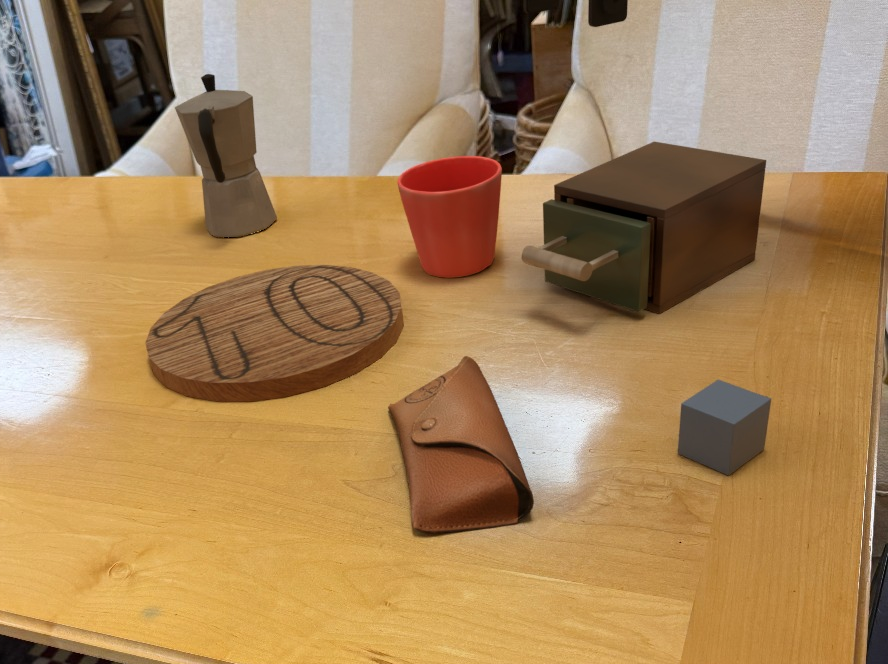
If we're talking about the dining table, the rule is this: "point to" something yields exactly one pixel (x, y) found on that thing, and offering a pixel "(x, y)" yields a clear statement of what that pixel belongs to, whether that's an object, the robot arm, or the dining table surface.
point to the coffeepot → (227, 160)
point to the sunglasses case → (460, 455)
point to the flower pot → (453, 213)
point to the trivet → (275, 333)
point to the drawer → (597, 251)
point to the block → (723, 426)
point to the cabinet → (682, 211)
